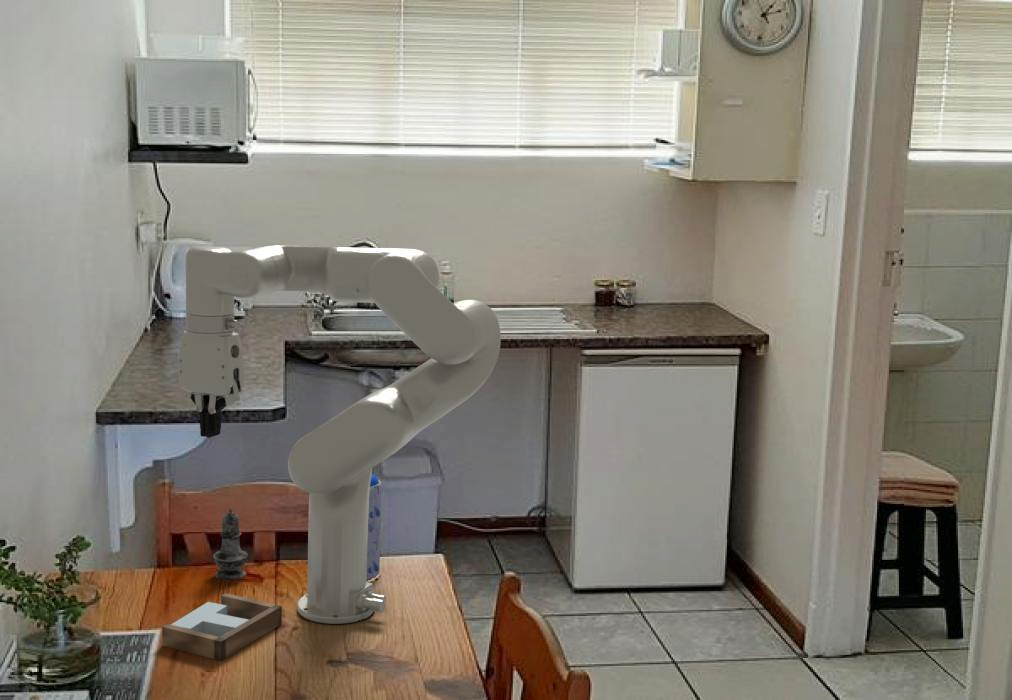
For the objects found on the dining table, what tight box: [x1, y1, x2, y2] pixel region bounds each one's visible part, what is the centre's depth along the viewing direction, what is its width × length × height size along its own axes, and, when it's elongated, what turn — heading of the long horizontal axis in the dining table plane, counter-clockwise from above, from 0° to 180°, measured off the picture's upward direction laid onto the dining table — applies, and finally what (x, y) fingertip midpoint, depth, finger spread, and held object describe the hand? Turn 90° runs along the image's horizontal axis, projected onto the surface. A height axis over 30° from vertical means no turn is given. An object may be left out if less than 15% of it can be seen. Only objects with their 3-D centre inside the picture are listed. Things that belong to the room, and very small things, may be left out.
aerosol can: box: [367, 473, 383, 581], centre depth 214 cm, size 8×8×20 cm
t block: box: [170, 601, 248, 637], centre depth 189 cm, size 10×10×2 cm
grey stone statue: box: [212, 508, 249, 581], centre depth 213 cm, size 6×6×12 cm
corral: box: [161, 592, 283, 662], centre depth 189 cm, size 11×15×3 cm
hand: (210, 435), depth 201 cm, fingers closed
